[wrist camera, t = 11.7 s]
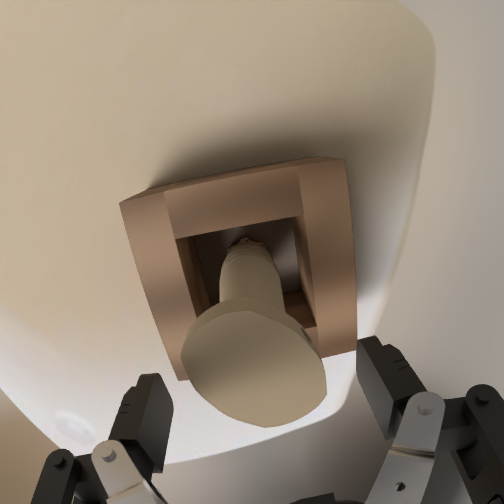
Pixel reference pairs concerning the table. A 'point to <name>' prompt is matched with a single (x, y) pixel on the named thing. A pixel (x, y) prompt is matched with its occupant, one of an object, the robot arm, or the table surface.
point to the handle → (253, 346)
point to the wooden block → (240, 214)
